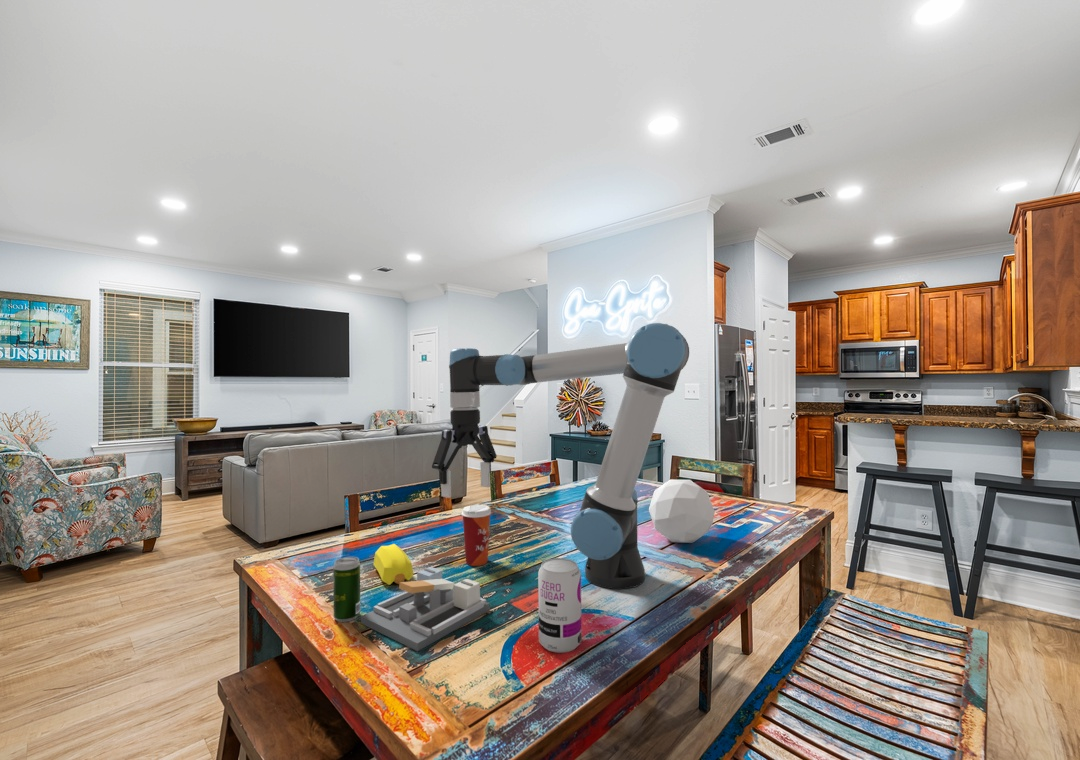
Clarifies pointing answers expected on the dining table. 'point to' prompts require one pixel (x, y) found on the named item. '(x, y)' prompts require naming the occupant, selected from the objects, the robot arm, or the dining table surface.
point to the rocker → (426, 585)
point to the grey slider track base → (421, 617)
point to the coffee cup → (476, 534)
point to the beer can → (346, 589)
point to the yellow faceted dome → (393, 564)
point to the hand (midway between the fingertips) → (466, 491)
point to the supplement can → (559, 605)
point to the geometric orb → (681, 511)
